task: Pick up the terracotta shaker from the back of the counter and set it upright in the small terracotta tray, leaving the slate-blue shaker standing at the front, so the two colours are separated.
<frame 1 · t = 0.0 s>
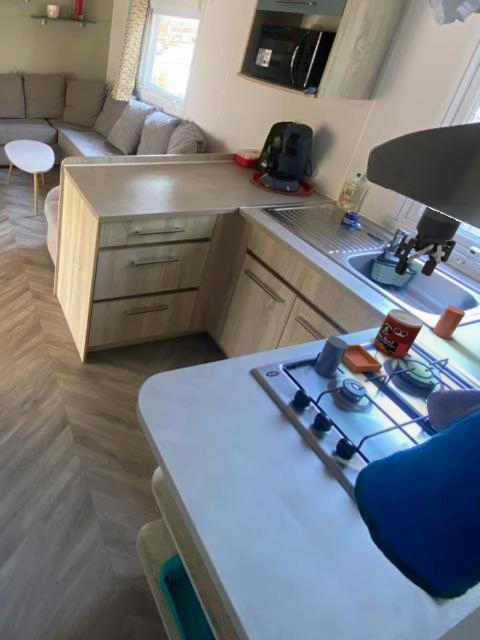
hand: (412, 274, 108), 24 cm above the counter, tool pointing down, fingers open, 8 cm apart
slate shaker: (324, 370, 106), on the counter
terracotta shaker: (441, 333, 129), on the counter
terracotta tray: (355, 360, 111), on the counter
canned food: (388, 349, 118), on the counter
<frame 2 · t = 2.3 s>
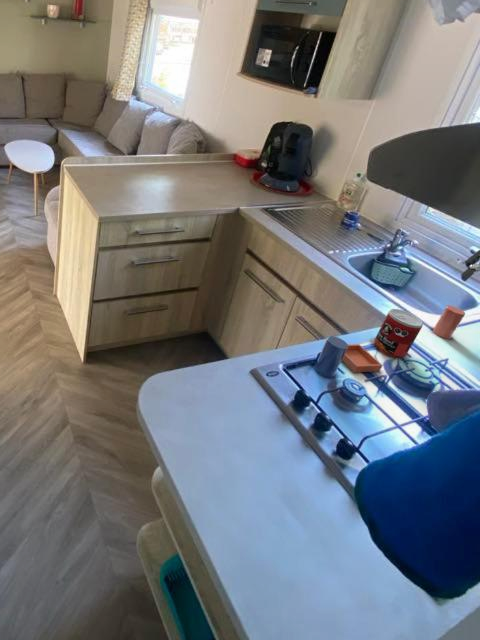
hand: (478, 287, 124), 17 cm above the counter, tool tilted 40°, fingers open, 8 cm apart
nothing on the counter moved.
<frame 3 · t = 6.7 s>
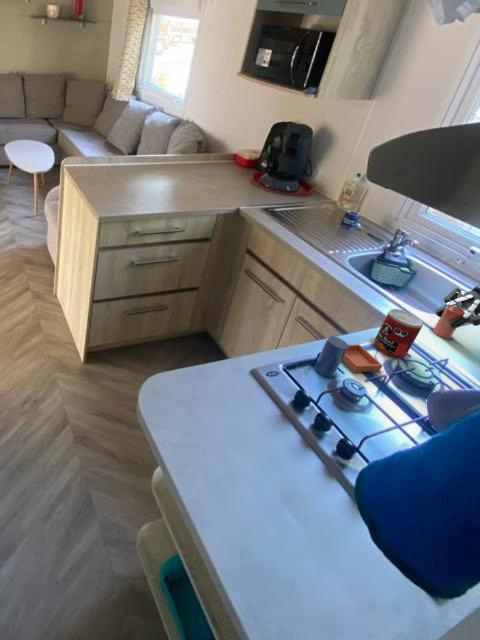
hand: (444, 319, 127), 5 cm above the counter, tool tilted 45°, fingers closed on terracotta shaker, 4 cm apart
terracotta shaker: (441, 333, 129), on the counter, touching gripper
everything else where it was.
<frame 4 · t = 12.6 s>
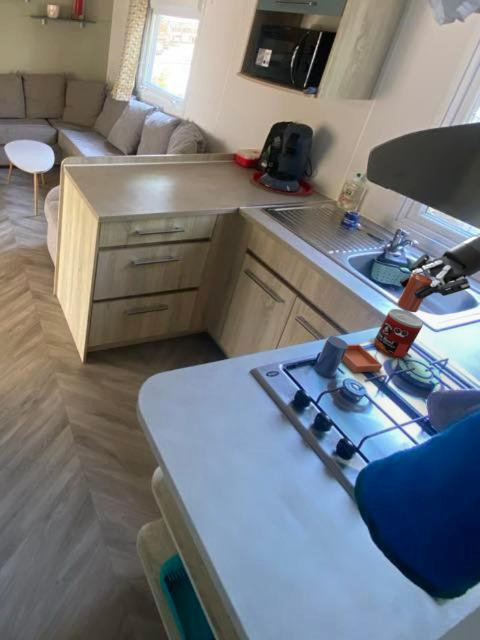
hand: (409, 290, 108), 20 cm above the counter, tool tilted 45°, fingers closed on terracotta shaker, 4 cm apart
terracotta shaker: (407, 307, 111), point 15 cm above the counter, touching gripper
everything else where it was.
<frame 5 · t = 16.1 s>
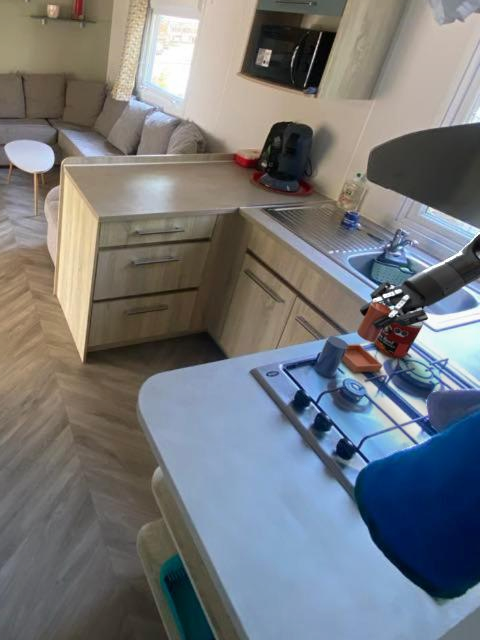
hand: (368, 319, 106), 13 cm above the counter, tool tilted 45°, fingers closed on terracotta shaker, 4 cm apart
terracotta shaker: (366, 336, 108), point 8 cm above the counter, touching gripper
everything else where it was.
when the fingers open (6 cm above the counter, at t = 18.6 s): terracotta shaker stays where it is, resting on terracotta tray.
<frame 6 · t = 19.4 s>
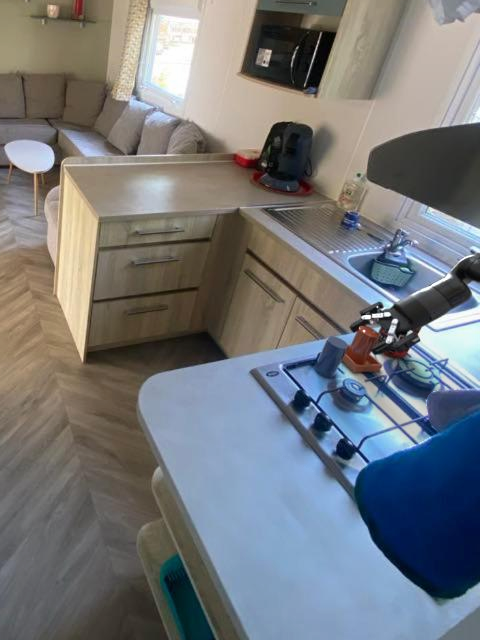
hand: (361, 340, 108), 7 cm above the counter, tool tilted 45°, fingers open, 8 cm apart
terracotta shaker: (355, 358, 111), resting on terracotta tray
everything else where it was.
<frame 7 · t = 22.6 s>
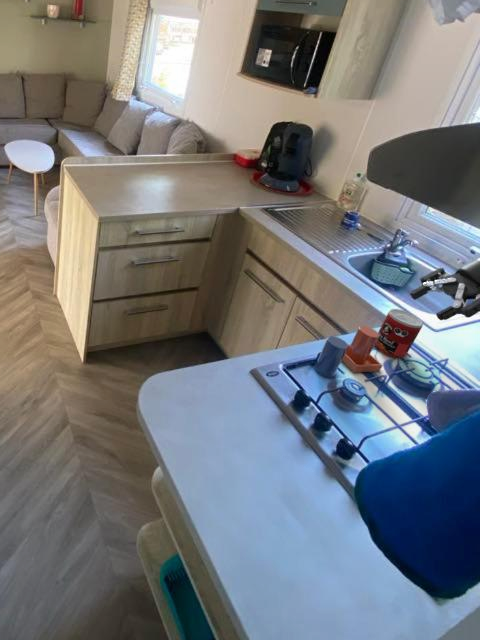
hand: (424, 306, 106), 18 cm above the counter, tool tilted 45°, fingers open, 8 cm apart
nothing on the counter moved.
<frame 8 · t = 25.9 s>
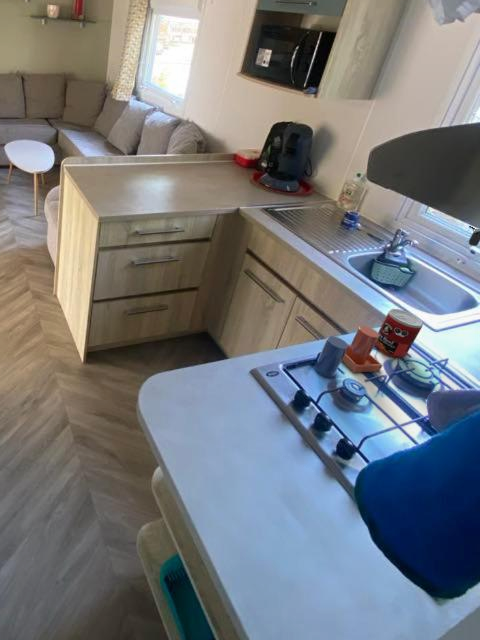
nothing on the counter moved.
at the end: terracotta shaker 0.2 cm off-centre in the terracotta tray, point 0.5 cm above the terracotta tray's base; terracotta shaker tilted 0°; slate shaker moved 0.0 cm from its start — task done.
